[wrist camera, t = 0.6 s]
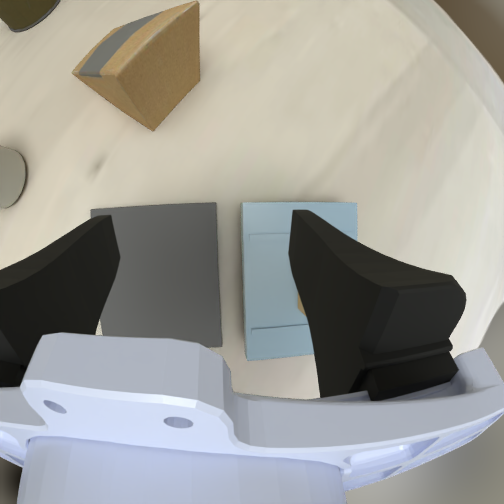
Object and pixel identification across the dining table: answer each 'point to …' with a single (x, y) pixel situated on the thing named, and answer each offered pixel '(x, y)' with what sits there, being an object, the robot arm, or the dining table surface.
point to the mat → (165, 274)
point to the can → (10, 176)
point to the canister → (25, 12)
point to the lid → (278, 276)
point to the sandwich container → (147, 64)
